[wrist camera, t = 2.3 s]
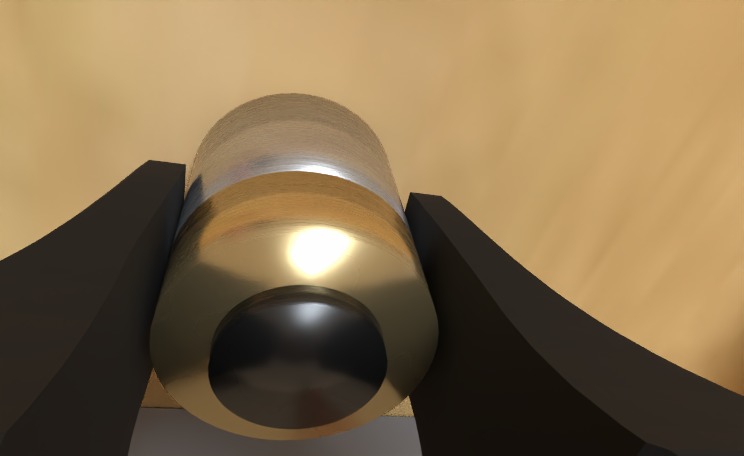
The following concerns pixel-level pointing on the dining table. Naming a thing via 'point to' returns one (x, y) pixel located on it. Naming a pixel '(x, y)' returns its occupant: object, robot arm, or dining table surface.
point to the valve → (292, 278)
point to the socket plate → (237, 452)
